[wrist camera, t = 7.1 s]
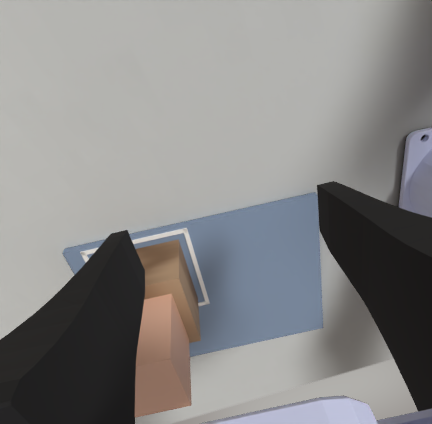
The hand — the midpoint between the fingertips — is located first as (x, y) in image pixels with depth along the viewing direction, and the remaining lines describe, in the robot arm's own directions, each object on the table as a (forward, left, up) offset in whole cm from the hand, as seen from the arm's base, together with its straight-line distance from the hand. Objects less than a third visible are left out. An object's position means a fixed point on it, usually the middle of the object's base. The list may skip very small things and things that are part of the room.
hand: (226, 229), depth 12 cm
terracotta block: (+6, +9, -5) cm, 12 cm away
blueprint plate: (+2, +12, -9) cm, 16 cm away
